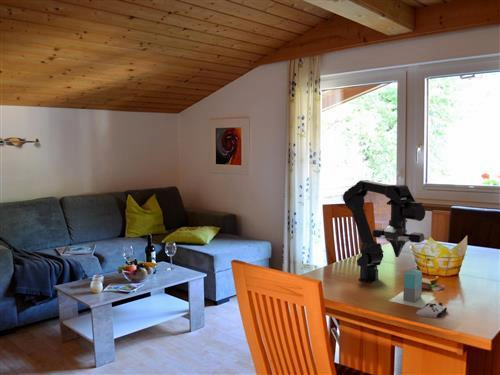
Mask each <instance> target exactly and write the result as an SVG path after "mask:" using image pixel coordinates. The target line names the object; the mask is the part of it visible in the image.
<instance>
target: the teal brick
mask: <svg viewBox="0 0 500 375" xmlns="http://www.w3.org/2000/svg"><path fill="white" fill-rule="evenodd" d="M422 278H423V271H422V270H419V269H413V268H411V269H409V270H407V271H406V272H404V273H403V288H404V287H407V288H412V289H416V288H417V287H419V286H420V285H421V284H422Z"/></svg>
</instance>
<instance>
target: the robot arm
mask: <svg viewBox="0 0 500 375" xmlns="http://www.w3.org/2000/svg"><path fill="white" fill-rule="evenodd" d="M368 192H371V193H375V194H380V195H383V196H385V197H386V198H387V199H389V201H387V202H386V205H389V206H390V219H389V221H388V225H387V226H386V227H385V228H383V227H377V228H375V229H373V230H372V231H371V228H370V225H369V222H368V219H367V216H366V213H365V210H364V206H365V197H366V196H367V195H368ZM342 199H343V202H344V204H345V206H346V207H347V208H348V210H349V211H351V213H352V217H353V219H354V220H353V221H354V222H355V226H356V229H357V232H358V235H359V238H360V242H361V248H360V254H361V256H359V257H358V259H357V260H356V264H357V267H359V278H358V281H362V282H366V283H374V282H376V281H377V280H379V269H378V266H380V265H381V263H382V261H383V260H384V259H383V258H384V253H385V251H384V250H383V249H382V245H381V243H380V242H378V243H377V242H376V241H375V240H374V238H381V237H382V236H384V239H385V240H386V241H387V242H389V243H390V245H391V247H392V250H393V254H394V256H395V257H396V258H399V257H400V254H401V253H402V251H403V248H404V247H405V245H406V243H408V242H410V243H417V244H418V243H419V244H420V243H422V242H423V241H425V235H424V233H421V232H416V231H414V232H411V233H407V232H408V231H407V223H408V220H412V221H417V222H421V221H423V220H424V219H425V217H426V209H425V207H424V206H423V202H422V201H421V202H420V201H417V202H416V200H415V198H414V197H413V195H412V192H411V191H410V188H409V186H408V185H407V184H387V183H383V182H382V183H380V182H376V181H371V180H369V179H365V180H363V179H362V180H359V181H358V182H356V183H355V184H354V185H352V186H351V187H350V188H348V189H347V190H345V191H344V193H343V195H342Z"/></svg>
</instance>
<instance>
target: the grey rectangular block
mask: <svg viewBox="0 0 500 375" xmlns="http://www.w3.org/2000/svg"><path fill="white" fill-rule="evenodd" d="M403 291H404V294H403V301H408V302H413V303H415V302H416V301H418V300H419V299H420V298H421V295H422V293H423V291H422V284H421V285H420V286H419V287H417V288H416V289H412V288H407V287H404V286H403Z"/></svg>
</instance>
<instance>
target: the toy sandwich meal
mask: <svg viewBox="0 0 500 375" xmlns="http://www.w3.org/2000/svg"><path fill="white" fill-rule="evenodd" d="M439 279H440V278H439V277H436V278H433V279H432V278H431V279H428V278H424V277H422V292H426V293H431V291H430V290H432V291H433V292H437V293H440V292H444V291H445V290H446V285H444V284H439V283H438V281H439Z"/></svg>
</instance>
